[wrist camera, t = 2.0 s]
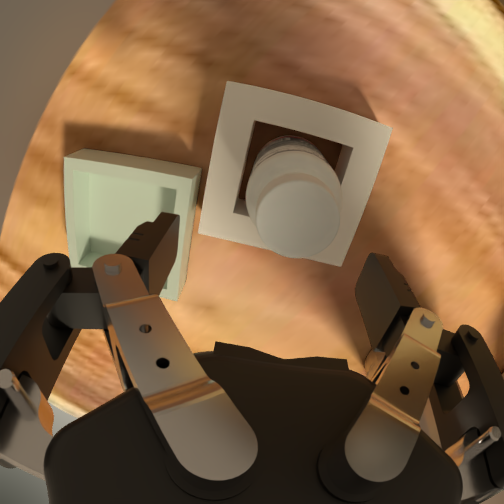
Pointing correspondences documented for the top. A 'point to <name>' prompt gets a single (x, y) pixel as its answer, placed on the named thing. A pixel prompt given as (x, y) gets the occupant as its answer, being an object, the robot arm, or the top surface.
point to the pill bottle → (294, 197)
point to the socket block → (300, 119)
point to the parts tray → (126, 205)
